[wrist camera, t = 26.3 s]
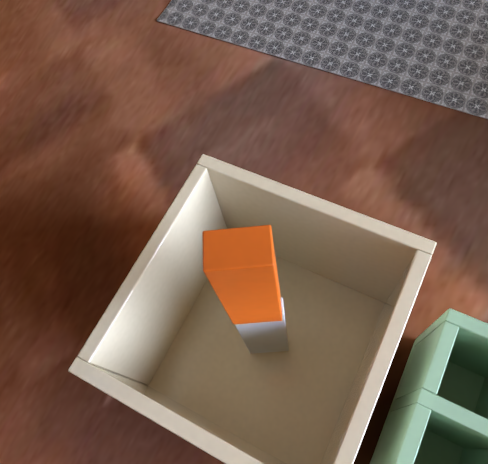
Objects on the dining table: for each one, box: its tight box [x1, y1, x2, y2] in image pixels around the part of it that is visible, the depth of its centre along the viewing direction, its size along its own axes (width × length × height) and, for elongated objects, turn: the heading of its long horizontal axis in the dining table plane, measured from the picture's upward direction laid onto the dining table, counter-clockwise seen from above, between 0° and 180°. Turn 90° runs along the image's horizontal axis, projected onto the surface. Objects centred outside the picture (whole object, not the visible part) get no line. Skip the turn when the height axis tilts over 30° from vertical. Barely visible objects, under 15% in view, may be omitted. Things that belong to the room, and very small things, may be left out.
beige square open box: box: [68, 154, 436, 464], centre depth 25 cm, size 12×12×10 cm
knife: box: [202, 225, 289, 354], centre depth 21 cm, size 1×2×16 cm, turn 93°
